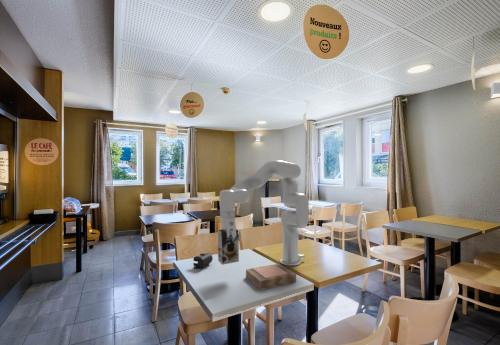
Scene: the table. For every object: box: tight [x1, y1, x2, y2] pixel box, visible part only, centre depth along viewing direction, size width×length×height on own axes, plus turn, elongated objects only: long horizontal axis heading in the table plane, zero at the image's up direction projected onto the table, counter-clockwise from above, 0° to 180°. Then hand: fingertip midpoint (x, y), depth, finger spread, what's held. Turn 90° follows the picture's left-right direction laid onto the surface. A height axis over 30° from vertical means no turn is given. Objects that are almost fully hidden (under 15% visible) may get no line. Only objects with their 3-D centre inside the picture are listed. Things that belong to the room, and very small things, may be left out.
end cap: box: [193, 252, 213, 270], centre depth 146 cm, size 10×7×7 cm
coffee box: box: [217, 228, 240, 266], centre depth 128 cm, size 9×6×16 cm
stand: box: [245, 263, 297, 291], centre depth 127 cm, size 20×16×4 cm
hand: (228, 249), depth 128 cm, fingers closed on coffee box, 6 cm apart
